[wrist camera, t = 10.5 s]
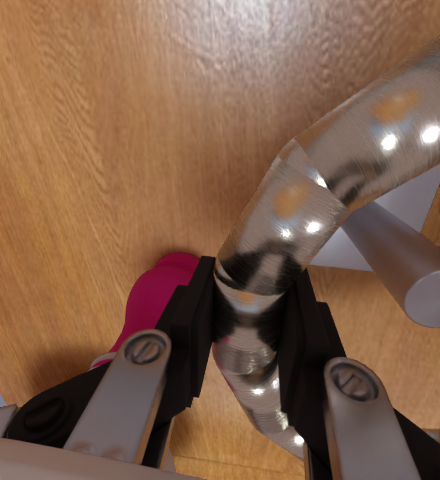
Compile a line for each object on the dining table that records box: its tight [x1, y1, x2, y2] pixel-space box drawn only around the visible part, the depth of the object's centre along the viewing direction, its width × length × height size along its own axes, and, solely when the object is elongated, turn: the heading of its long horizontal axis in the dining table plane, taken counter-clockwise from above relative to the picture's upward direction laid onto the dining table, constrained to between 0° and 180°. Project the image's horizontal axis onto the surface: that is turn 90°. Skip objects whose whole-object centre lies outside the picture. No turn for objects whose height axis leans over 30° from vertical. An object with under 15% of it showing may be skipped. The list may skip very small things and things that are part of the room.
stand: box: [308, 164, 440, 328], centre depth 16 cm, size 10×10×12 cm
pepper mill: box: [86, 253, 200, 372], centre depth 18 cm, size 7×7×20 cm
